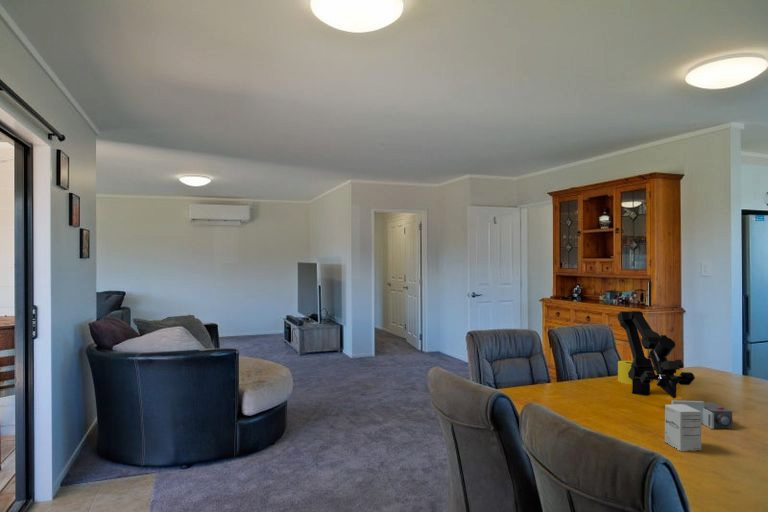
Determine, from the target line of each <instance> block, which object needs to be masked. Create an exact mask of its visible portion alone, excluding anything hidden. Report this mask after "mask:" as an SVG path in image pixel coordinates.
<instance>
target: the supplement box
mask: <svg viewBox="0 0 768 512" xmlns="http://www.w3.org/2000/svg"><path fill="white" fill-rule="evenodd" d="M665 442H666V443H665ZM664 443H665V444H667V443H668V444H667V445H669V446H671V447H673V448H674V447H675V448H674V449H676V448H677V449H676V450H678V451H679V450H680V451H679V452H687V451H686V450H701V451H702V423H701V411H699V410H696V409H694V408H692V407H690V406H687V405H685V404H672V403H671V404H665V405H664Z"/></svg>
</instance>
